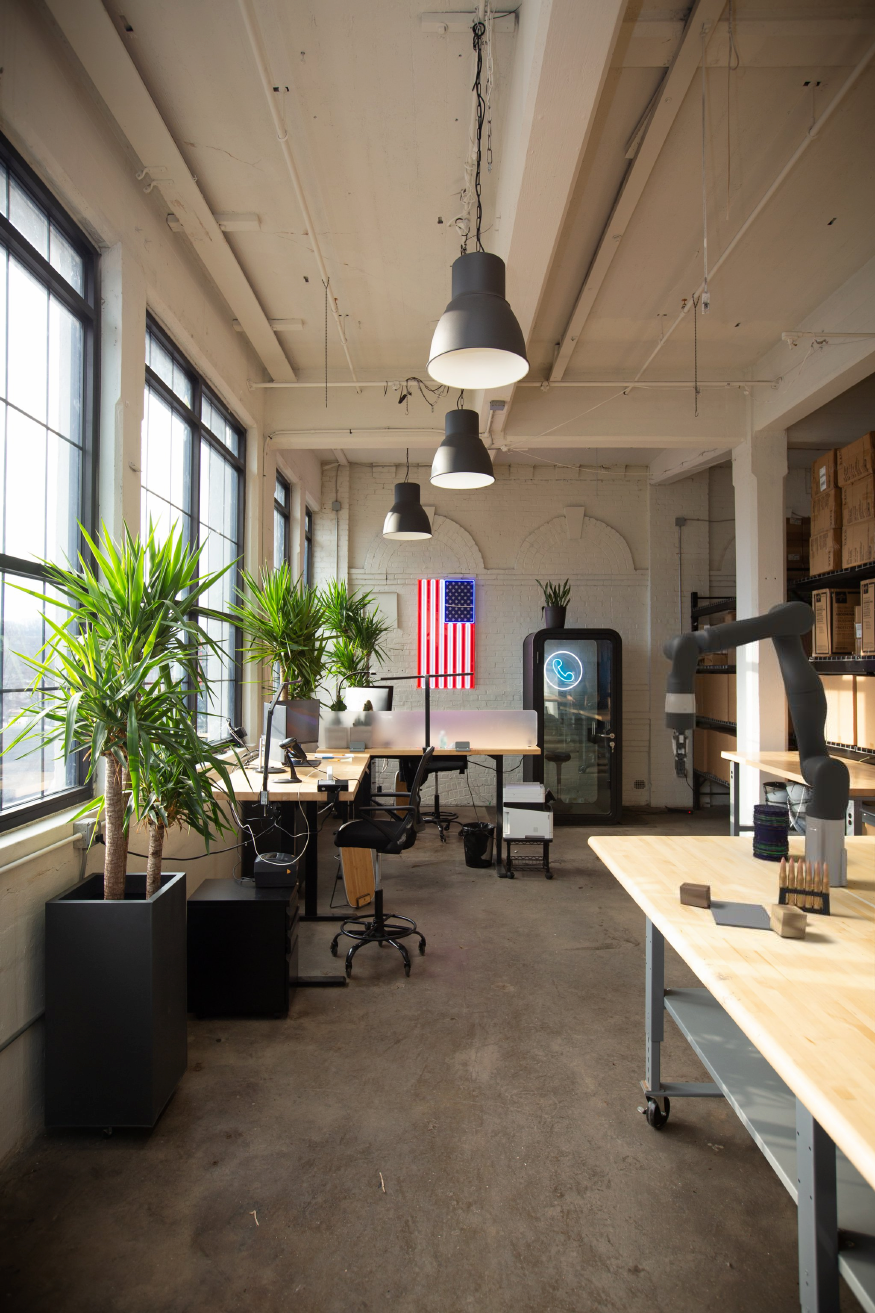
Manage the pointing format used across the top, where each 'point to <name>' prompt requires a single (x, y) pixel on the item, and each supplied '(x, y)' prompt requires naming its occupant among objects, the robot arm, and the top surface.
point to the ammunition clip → (805, 888)
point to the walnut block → (695, 894)
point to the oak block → (788, 921)
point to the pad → (740, 915)
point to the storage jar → (770, 832)
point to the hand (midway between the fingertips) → (679, 772)
